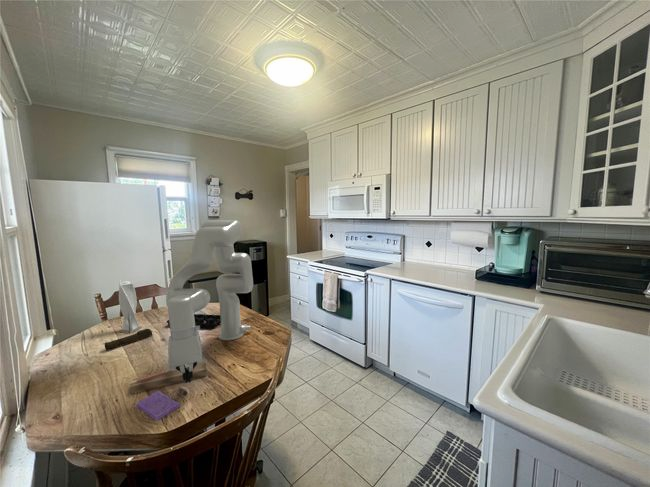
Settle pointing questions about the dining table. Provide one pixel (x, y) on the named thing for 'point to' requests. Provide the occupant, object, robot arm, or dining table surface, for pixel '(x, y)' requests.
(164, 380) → the walnut board
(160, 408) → the sponges
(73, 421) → the dining table surface
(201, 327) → the black openwork frame
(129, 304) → the skyscraper
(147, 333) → the hand tool
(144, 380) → the carpenters pencil
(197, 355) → the robot arm
